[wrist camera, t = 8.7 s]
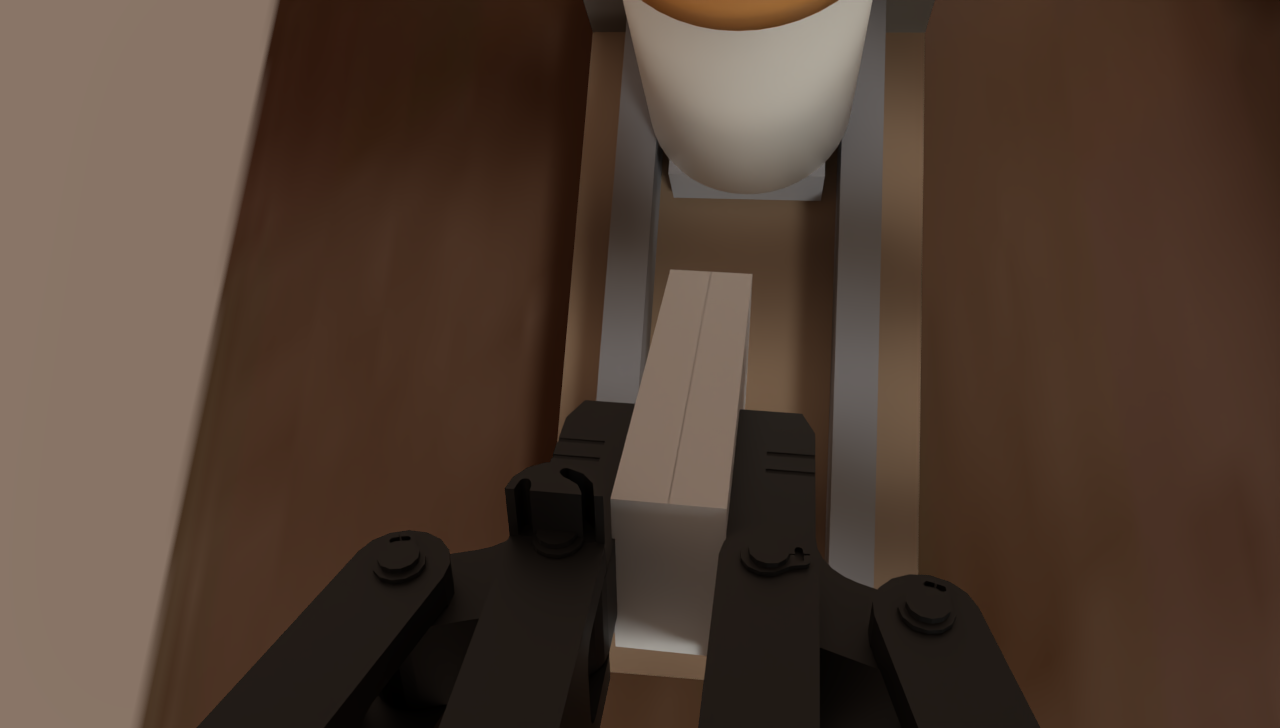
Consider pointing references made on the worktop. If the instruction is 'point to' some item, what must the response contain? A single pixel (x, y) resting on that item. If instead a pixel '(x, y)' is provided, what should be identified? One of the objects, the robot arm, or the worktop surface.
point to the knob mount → (774, 289)
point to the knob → (748, 90)
